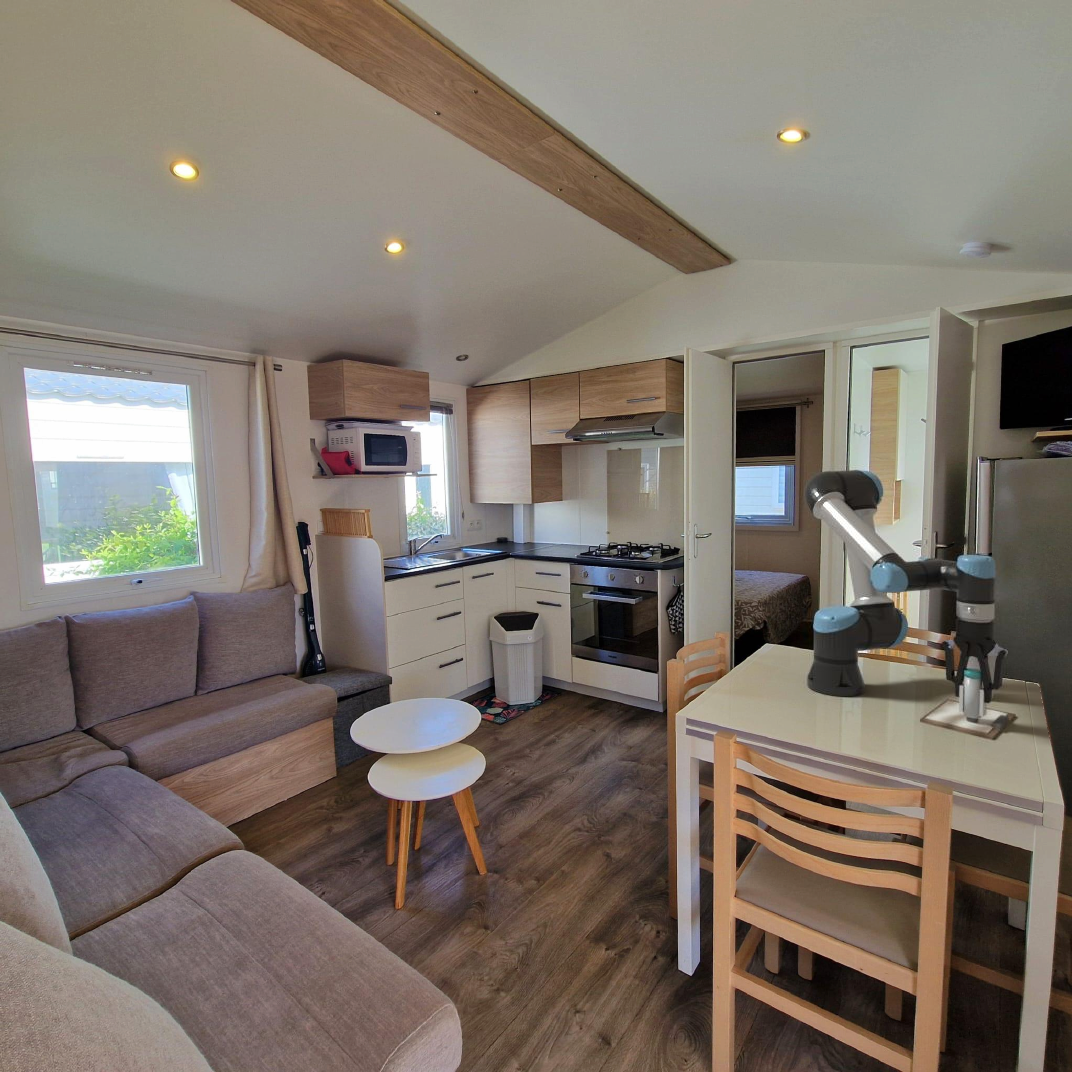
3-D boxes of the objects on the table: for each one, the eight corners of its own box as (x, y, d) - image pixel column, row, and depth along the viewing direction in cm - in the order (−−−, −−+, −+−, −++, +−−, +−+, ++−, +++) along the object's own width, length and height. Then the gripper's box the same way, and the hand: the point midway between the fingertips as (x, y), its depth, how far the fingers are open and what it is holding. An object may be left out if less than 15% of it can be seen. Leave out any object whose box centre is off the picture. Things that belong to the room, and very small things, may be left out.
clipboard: (919, 721, 154) (920, 715, 153) (947, 701, 166) (947, 695, 166) (992, 739, 142) (992, 733, 142) (1015, 716, 155) (1015, 710, 155)
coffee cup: (1007, 703, 164) (1009, 648, 162) (967, 701, 165) (968, 647, 164) (988, 690, 173) (990, 639, 171) (950, 689, 175) (952, 638, 173)
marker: (960, 720, 151) (961, 670, 150) (966, 716, 154) (967, 667, 153) (979, 724, 148) (980, 674, 147) (984, 720, 151) (985, 670, 150)
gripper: (930, 616, 153) (929, 707, 155) (1012, 627, 140) (1009, 726, 142) (941, 611, 158) (939, 700, 160) (1021, 621, 145) (1018, 717, 147)
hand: (972, 712), depth 151 cm, fingers closed on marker, 3 cm apart
